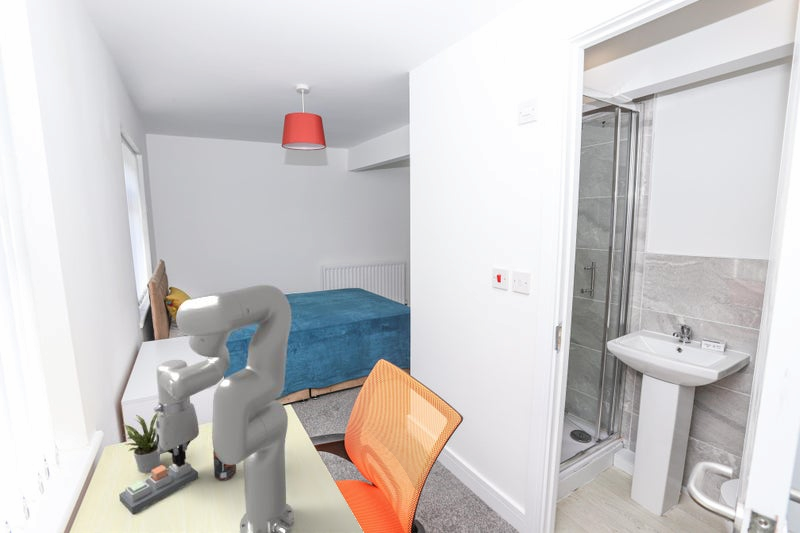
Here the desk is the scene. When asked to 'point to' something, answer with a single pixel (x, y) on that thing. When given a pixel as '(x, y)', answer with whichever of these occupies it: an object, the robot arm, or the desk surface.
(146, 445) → the house plant
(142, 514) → the desk surface
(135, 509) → the panel
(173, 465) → the button
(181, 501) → the desk surface
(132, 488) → the button
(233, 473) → the supplement bottle
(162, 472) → the button
